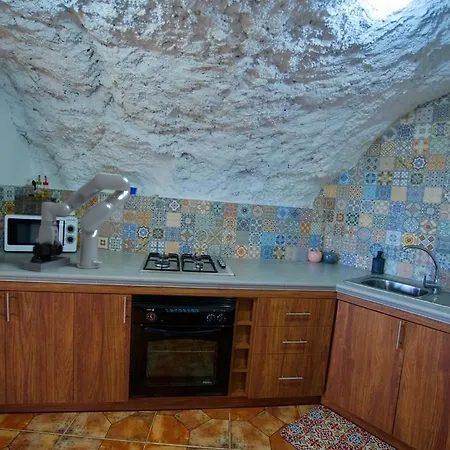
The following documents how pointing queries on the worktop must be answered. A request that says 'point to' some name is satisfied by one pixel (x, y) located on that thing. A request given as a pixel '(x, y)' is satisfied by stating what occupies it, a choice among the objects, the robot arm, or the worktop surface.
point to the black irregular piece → (44, 252)
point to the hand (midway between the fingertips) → (47, 254)
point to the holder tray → (47, 264)
